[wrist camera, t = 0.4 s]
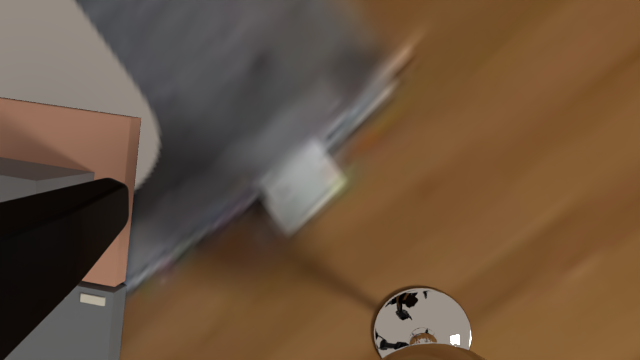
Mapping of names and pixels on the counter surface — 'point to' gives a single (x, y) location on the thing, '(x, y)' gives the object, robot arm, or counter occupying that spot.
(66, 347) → the panel
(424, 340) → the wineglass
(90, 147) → the stub
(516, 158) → the counter surface
